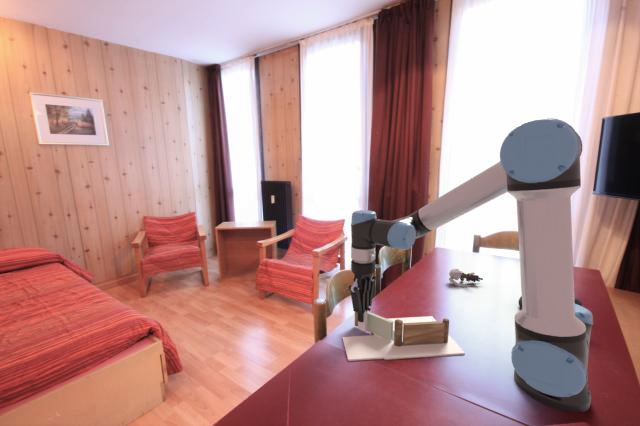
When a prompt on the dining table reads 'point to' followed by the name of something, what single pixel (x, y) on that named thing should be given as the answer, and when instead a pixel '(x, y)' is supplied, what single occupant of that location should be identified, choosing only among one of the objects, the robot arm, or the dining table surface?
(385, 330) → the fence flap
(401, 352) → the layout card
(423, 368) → the dining table surface
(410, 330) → the fence fixed
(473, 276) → the toy
